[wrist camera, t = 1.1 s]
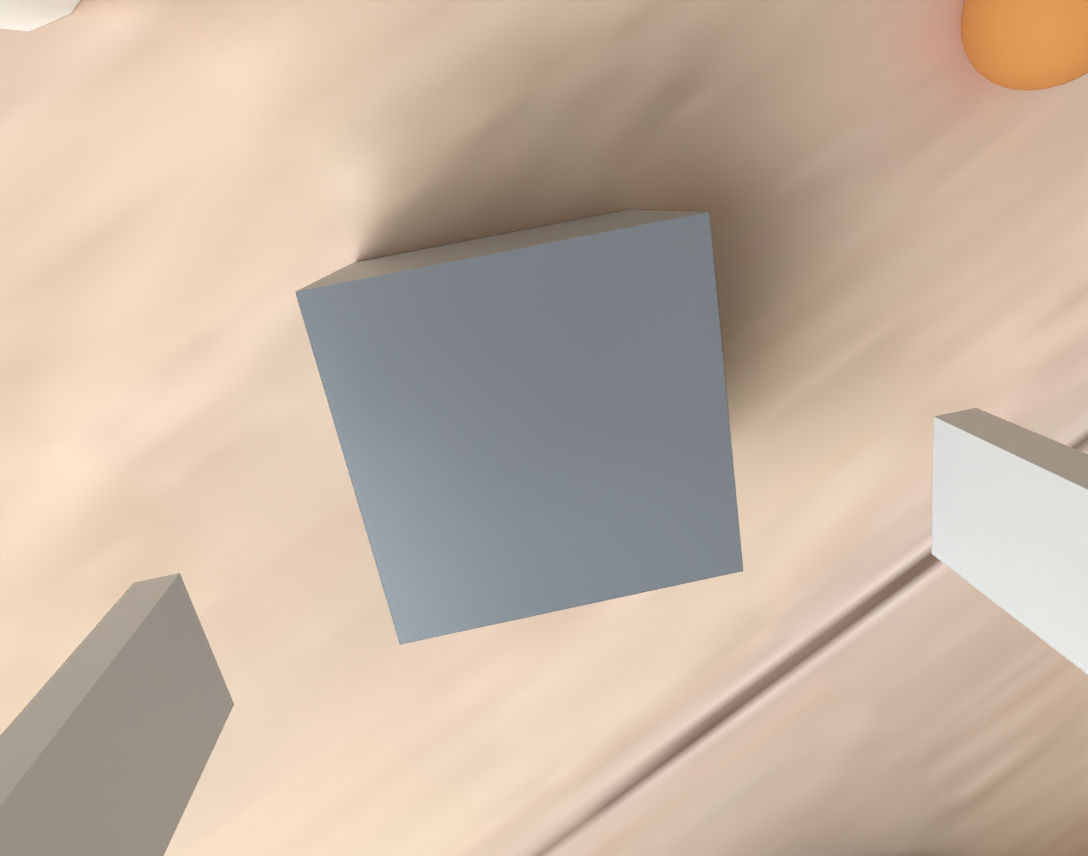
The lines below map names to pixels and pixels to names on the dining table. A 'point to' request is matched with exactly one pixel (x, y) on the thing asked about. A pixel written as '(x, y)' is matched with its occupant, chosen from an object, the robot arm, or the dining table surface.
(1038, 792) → the dining table surface
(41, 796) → the robot arm
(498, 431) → the grey square block
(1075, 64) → the orange egg
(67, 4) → the foam cup
